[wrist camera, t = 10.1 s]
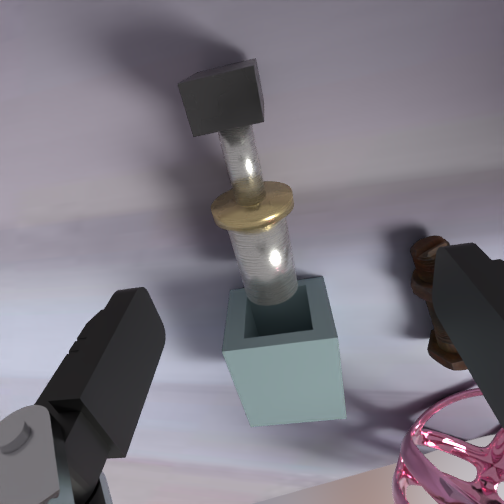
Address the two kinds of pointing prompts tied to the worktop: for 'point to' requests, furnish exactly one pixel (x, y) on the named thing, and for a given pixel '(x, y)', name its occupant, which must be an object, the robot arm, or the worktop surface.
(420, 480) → the spiral basket
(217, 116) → the plunger
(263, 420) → the housing
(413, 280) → the bolt
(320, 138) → the worktop surface
